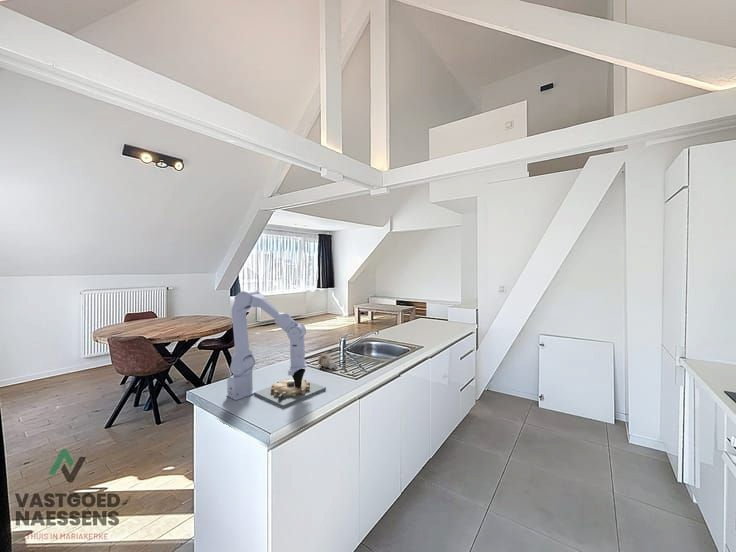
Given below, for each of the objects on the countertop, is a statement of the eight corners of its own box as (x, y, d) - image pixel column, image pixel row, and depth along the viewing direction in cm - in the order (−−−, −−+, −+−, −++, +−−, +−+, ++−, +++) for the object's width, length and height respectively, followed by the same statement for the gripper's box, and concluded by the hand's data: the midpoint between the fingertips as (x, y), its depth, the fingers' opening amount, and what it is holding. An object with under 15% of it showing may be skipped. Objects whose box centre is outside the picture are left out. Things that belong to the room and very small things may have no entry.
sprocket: (288, 400, 120) (287, 388, 120) (262, 391, 130) (262, 380, 129) (317, 387, 133) (317, 376, 133) (292, 379, 143) (292, 369, 143)
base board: (283, 408, 117) (283, 400, 116) (254, 395, 129) (254, 388, 129) (325, 390, 134) (325, 383, 134) (296, 380, 146) (296, 373, 146)
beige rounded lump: (330, 372, 158) (321, 354, 160) (322, 375, 165) (314, 358, 167) (341, 365, 163) (332, 348, 165) (333, 369, 170) (325, 352, 172)
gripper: (300, 359, 119) (300, 394, 119) (312, 350, 133) (313, 381, 133) (282, 359, 120) (283, 393, 120) (297, 349, 134) (298, 380, 134)
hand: (298, 387), depth 127 cm, fingers closed, pressing on sprocket
